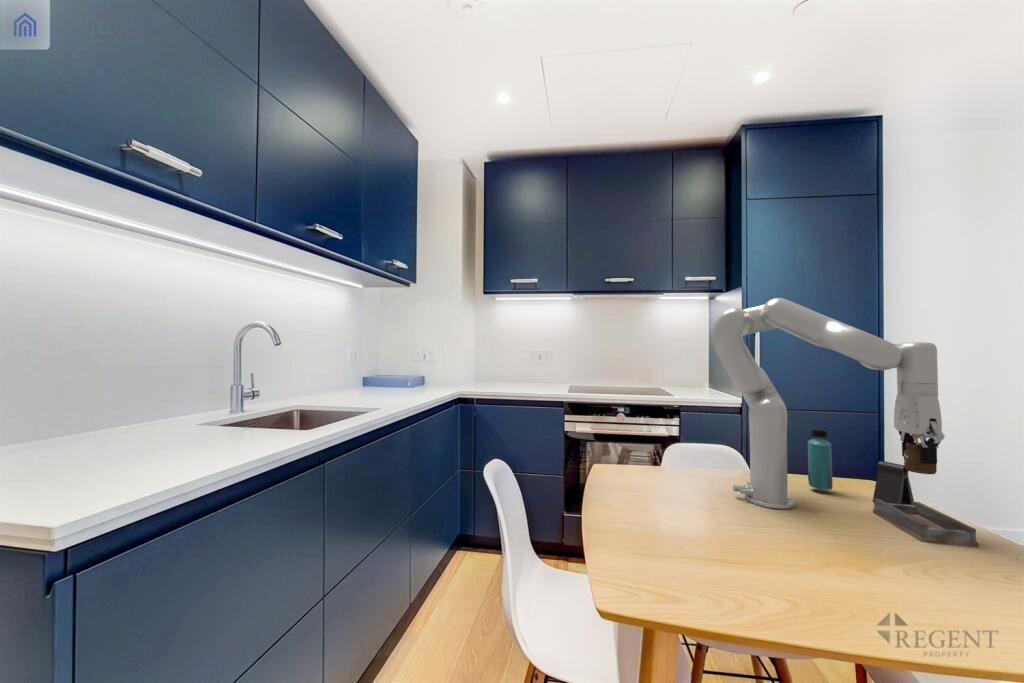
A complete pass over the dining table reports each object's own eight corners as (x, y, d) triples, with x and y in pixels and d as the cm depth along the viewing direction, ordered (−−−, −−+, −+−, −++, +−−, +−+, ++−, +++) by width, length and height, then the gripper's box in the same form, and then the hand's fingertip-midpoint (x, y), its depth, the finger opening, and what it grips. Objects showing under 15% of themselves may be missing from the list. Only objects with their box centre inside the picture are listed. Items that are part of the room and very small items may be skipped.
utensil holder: (939, 472, 103) (938, 425, 104) (932, 476, 100) (931, 427, 100) (908, 467, 108) (906, 422, 109) (900, 470, 105) (899, 424, 105)
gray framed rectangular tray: (920, 541, 97) (920, 524, 97) (873, 512, 114) (872, 498, 114) (977, 546, 94) (977, 529, 94) (920, 516, 111) (919, 502, 112)
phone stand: (890, 498, 126) (889, 459, 126) (914, 505, 120) (914, 464, 120) (872, 502, 122) (871, 462, 123) (897, 509, 117) (896, 467, 117)
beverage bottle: (838, 495, 128) (837, 431, 129) (817, 494, 129) (816, 431, 129) (822, 488, 135) (822, 427, 136) (802, 487, 135) (802, 427, 136)
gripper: (878, 387, 114) (880, 451, 114) (924, 392, 98) (926, 468, 97) (910, 387, 113) (912, 453, 112) (963, 393, 96) (965, 470, 95)
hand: (919, 459), depth 104 cm, fingers closed on utensil holder, 5 cm apart
